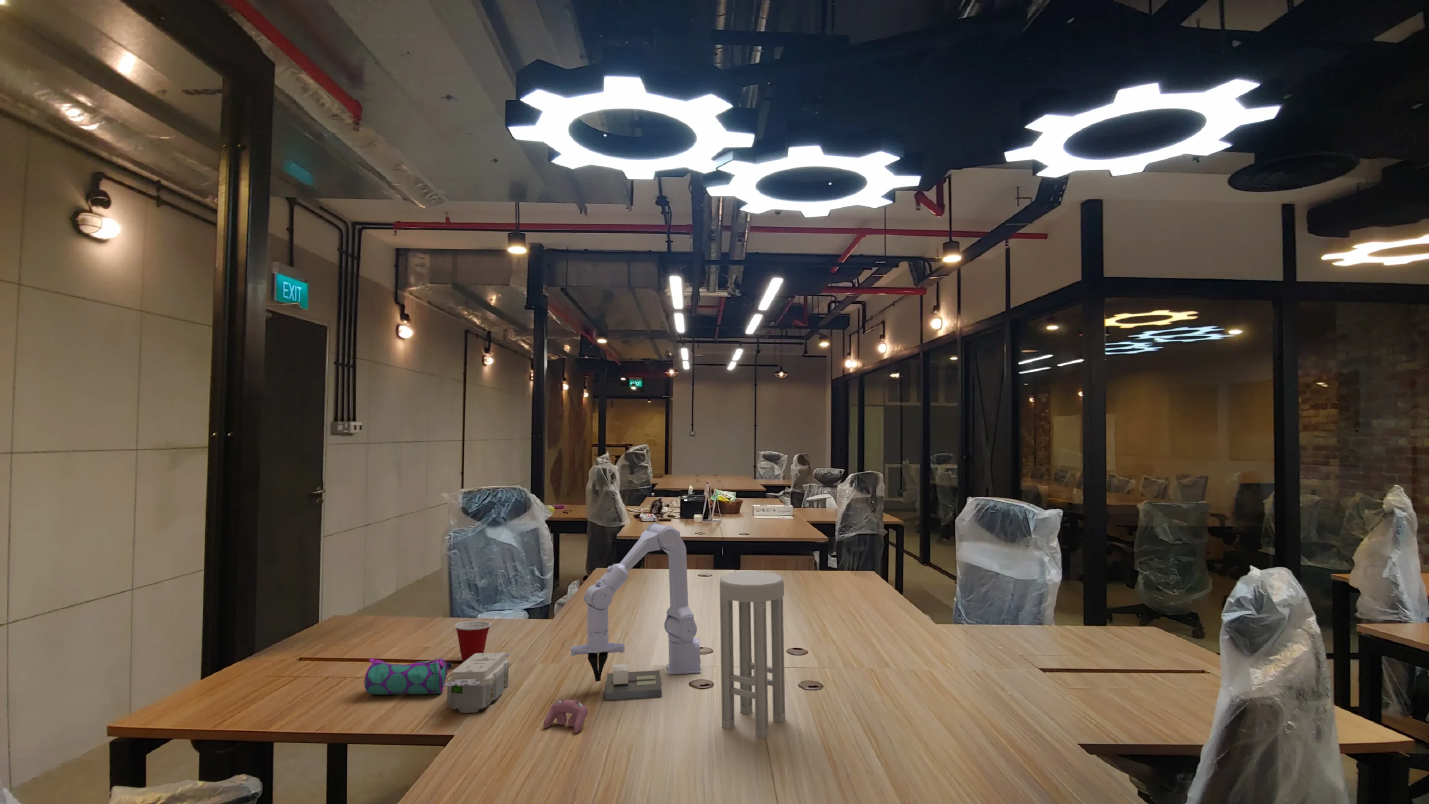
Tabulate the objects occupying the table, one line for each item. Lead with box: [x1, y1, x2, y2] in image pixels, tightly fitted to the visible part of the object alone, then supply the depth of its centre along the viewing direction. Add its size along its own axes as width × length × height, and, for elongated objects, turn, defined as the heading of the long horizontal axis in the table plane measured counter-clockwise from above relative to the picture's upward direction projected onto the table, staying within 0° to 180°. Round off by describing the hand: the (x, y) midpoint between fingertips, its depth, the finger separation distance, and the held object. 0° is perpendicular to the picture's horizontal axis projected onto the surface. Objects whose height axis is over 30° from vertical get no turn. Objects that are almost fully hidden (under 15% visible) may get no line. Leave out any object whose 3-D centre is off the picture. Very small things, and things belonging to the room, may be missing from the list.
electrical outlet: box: [443, 652, 511, 714], centre depth 170 cm, size 12×28×10 cm, turn 1°
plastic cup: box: [454, 620, 492, 663], centre depth 198 cm, size 11×11×12 cm
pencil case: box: [363, 657, 453, 696], centre depth 175 cm, size 21×9×10 cm, turn 94°
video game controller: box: [543, 699, 589, 734], centre depth 153 cm, size 10×5×7 cm, turn 71°
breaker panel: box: [604, 670, 663, 701], centre depth 176 cm, size 15×14×2 cm
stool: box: [719, 570, 786, 740], centre depth 154 cm, size 16×16×35 cm
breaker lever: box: [612, 663, 629, 684], centre depth 175 cm, size 4×5×4 cm
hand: (598, 679), depth 174 cm, fingers closed
